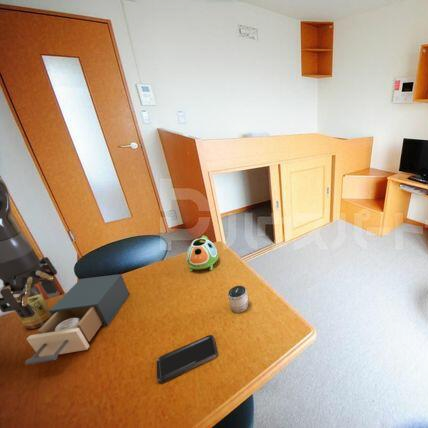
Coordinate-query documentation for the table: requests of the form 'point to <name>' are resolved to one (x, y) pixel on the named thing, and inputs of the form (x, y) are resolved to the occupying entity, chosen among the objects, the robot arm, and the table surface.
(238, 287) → the camera lens
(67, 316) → the drawer
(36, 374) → the table surface
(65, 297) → the cabinet
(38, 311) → the sauce bottle
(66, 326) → the die
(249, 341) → the table surface
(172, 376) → the phone
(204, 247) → the turtle holder
